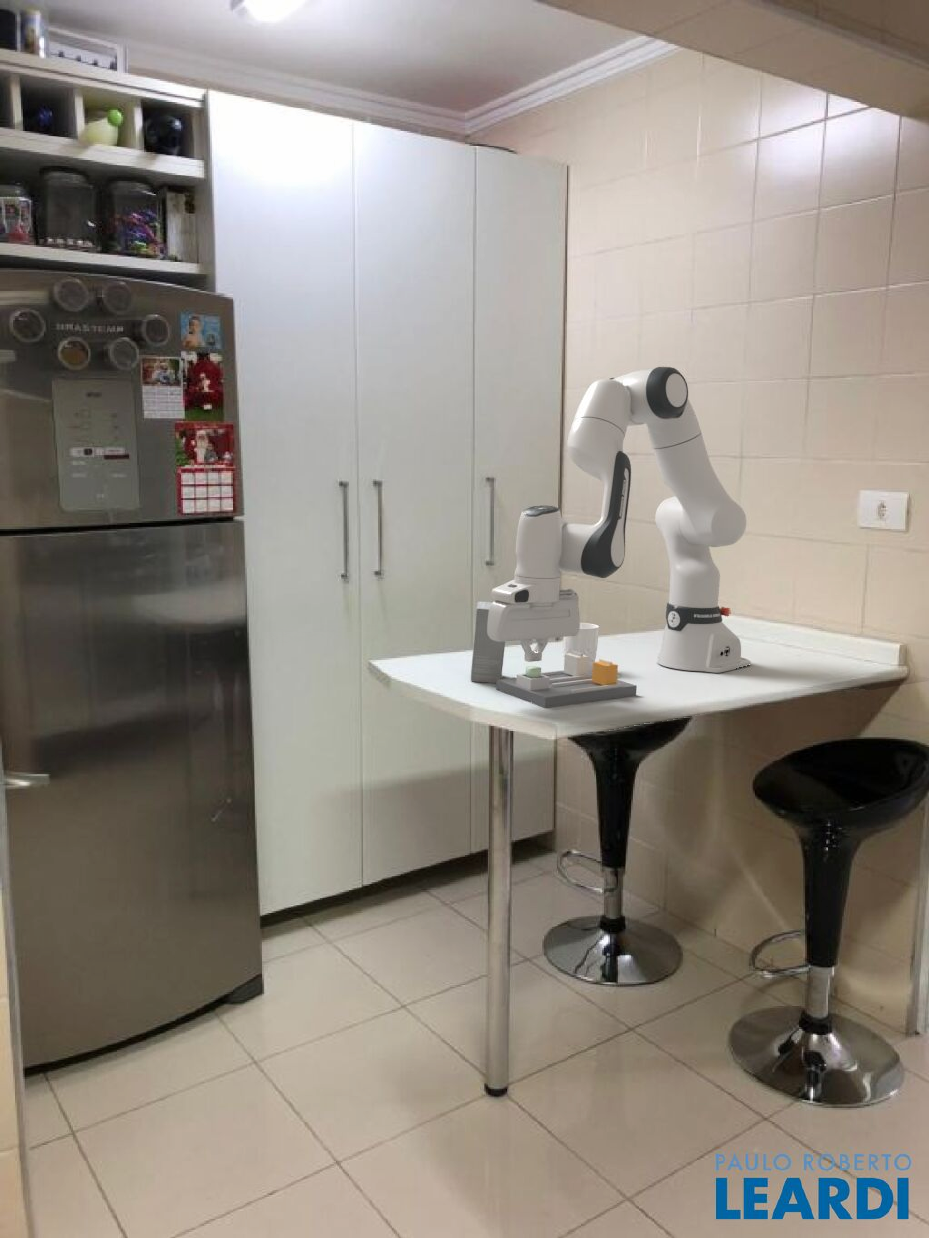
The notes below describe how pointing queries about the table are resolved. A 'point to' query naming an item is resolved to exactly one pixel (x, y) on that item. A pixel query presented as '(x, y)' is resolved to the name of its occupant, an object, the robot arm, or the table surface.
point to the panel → (562, 689)
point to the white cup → (583, 642)
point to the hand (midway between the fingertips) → (532, 660)
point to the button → (533, 672)
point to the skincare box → (486, 650)
